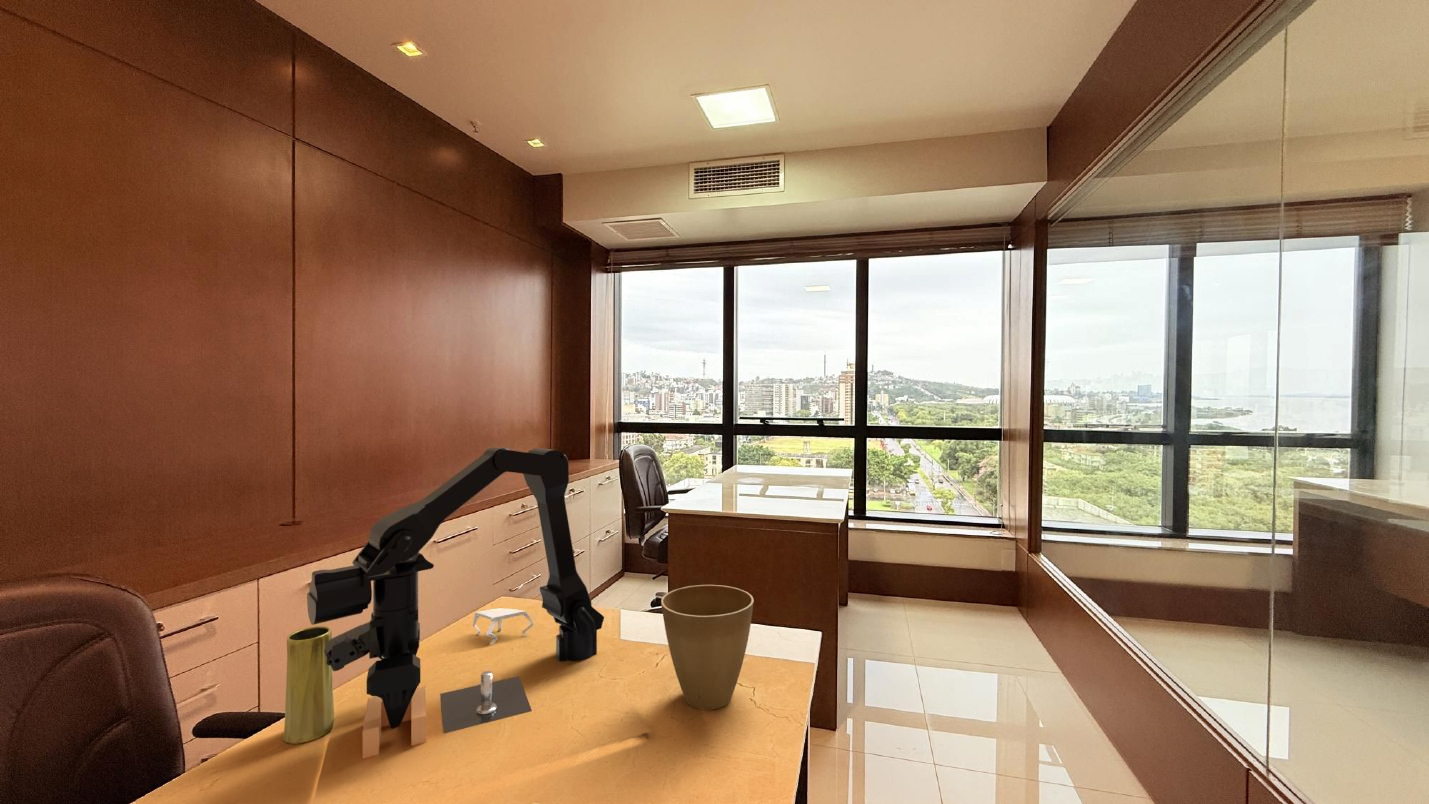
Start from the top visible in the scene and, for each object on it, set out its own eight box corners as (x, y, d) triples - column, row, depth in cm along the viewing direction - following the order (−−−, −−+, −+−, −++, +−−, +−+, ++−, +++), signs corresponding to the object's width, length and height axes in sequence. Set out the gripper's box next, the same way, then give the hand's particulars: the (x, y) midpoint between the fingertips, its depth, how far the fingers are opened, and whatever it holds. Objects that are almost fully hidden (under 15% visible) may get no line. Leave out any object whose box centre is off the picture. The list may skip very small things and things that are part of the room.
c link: (425, 712, 84) (425, 685, 84) (426, 744, 76) (426, 715, 76) (367, 725, 80) (367, 698, 80) (362, 761, 72) (362, 730, 72)
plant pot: (766, 685, 93) (766, 590, 93) (731, 734, 80) (731, 622, 80) (687, 667, 99) (687, 578, 99) (643, 709, 86) (643, 606, 86)
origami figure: (469, 649, 107) (469, 624, 107) (473, 632, 115) (473, 608, 115) (534, 641, 111) (534, 616, 111) (534, 625, 119) (534, 602, 119)
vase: (307, 747, 76) (307, 644, 76) (271, 741, 78) (271, 640, 78) (345, 722, 82) (345, 626, 82) (310, 717, 84) (311, 623, 84)
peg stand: (518, 681, 94) (518, 643, 94) (531, 717, 84) (531, 674, 84) (440, 699, 89) (440, 659, 89) (443, 740, 78) (443, 694, 78)
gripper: (337, 593, 85) (337, 695, 85) (319, 639, 69) (319, 765, 69) (419, 582, 91) (419, 677, 91) (420, 622, 74) (420, 739, 74)
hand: (396, 711), depth 81 cm, fingers open, 9 cm apart
